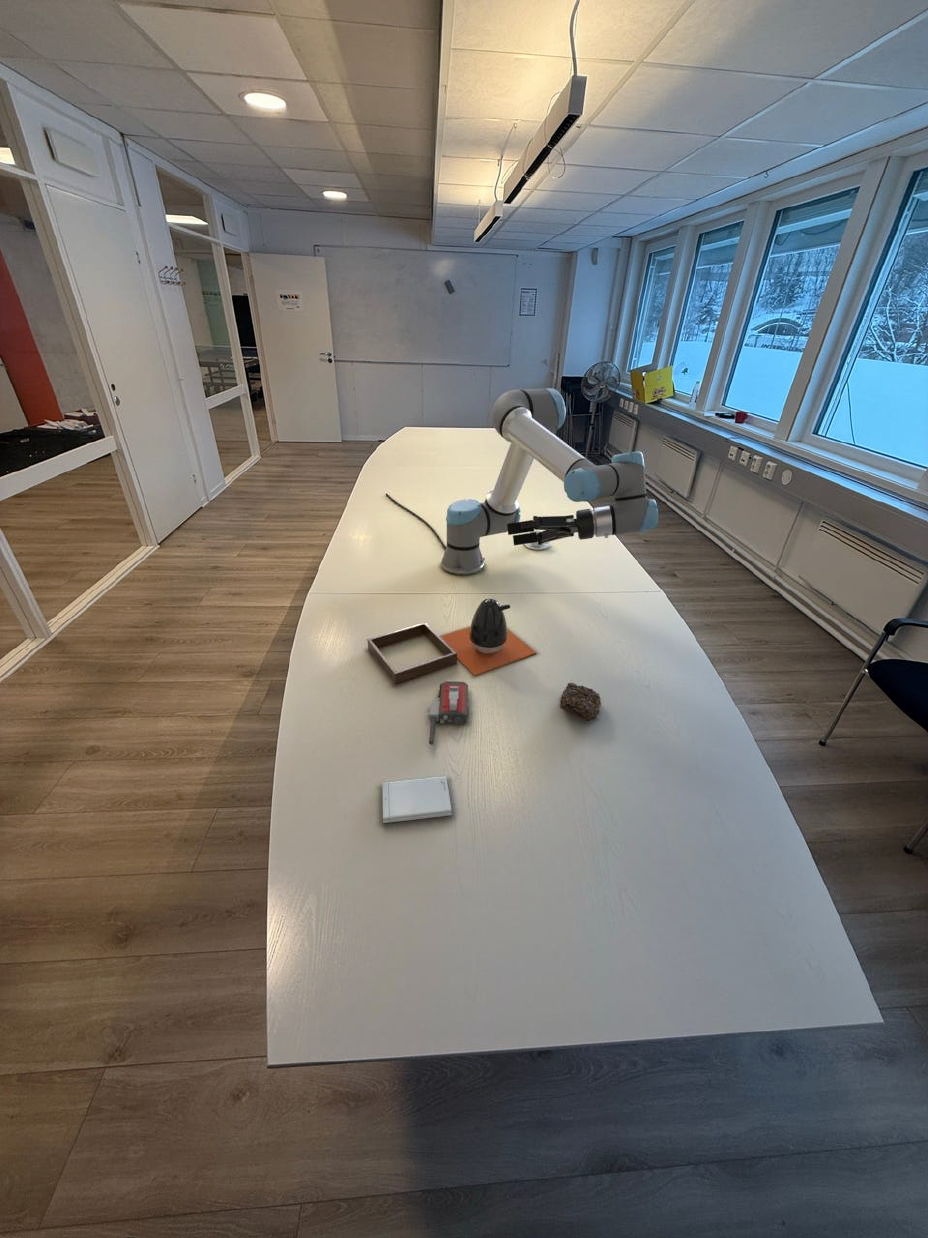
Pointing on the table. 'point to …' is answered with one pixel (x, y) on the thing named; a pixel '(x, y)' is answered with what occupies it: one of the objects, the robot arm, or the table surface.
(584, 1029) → the table surface
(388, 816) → the hard drive
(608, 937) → the table surface
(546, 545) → the teacup
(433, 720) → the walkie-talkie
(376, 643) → the brown wooden square frame
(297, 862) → the table surface
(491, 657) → the mat
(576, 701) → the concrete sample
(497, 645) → the pump dispenser
